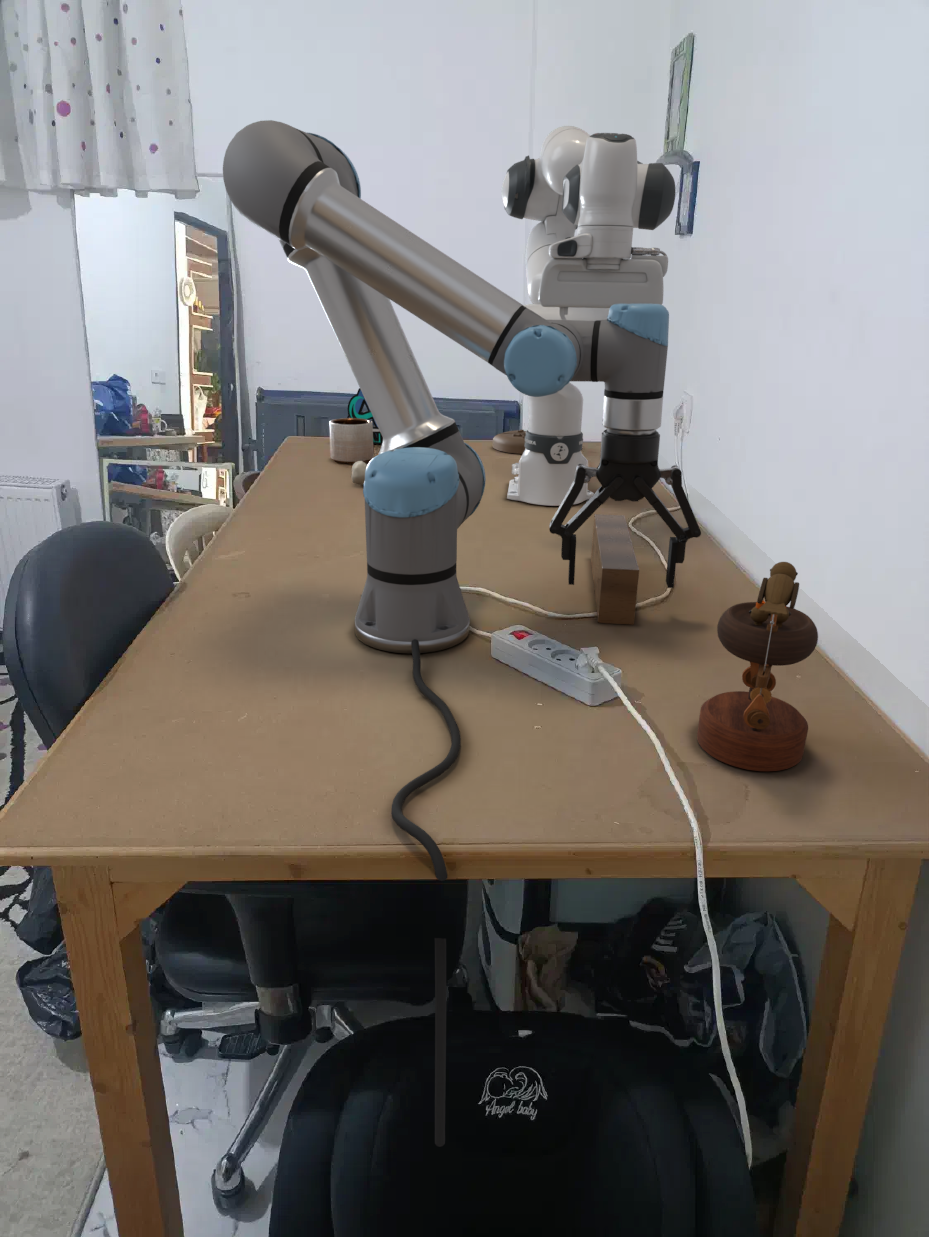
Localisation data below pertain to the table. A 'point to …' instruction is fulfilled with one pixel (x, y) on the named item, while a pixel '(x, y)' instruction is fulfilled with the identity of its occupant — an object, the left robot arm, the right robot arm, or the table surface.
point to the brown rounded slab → (510, 441)
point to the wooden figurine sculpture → (760, 680)
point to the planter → (351, 440)
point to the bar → (614, 570)
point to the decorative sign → (363, 414)
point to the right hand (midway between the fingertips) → (597, 337)
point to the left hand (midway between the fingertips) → (620, 583)
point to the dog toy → (358, 472)
